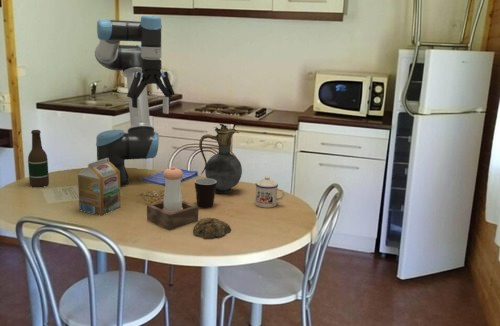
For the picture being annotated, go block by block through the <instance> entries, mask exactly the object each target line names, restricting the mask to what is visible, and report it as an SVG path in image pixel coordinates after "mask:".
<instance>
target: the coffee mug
mask: <svg viewBox="0 0 500 326" xmlns="http://www.w3.org/2000/svg"><path fill="white" fill-rule="evenodd" d="M216 183H217V181H216V180H214V179H209V178H206V177H205V178H204V177H202V178H201V177H200V178H198V179H195V180H194V189H195V196H196V198H195V199H196V200H195V201H196V206H198V208H199V209H200V208H201V209H210V208H213V207H214V203H215V196H216V192H215V190H216Z"/></svg>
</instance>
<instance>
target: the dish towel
mask: <svg viewBox="0 0 500 326" xmlns="http://www.w3.org/2000/svg"><path fill="white" fill-rule="evenodd" d="M178 169H180V170H181V171H182V172H183V176H182V178H181V183H183V182H187V181H188V180H192V179H194V178H196V177H199V172H198V171H197V170H188V169H184V168H179V167H178ZM163 172H164V170H162V171H159V172H156V173H154V174H150V175H148V176H144V177H142V178H139V181H141V182H144V183H149V184H153V185H157V186H162V187H165V178H164V177H163Z"/></svg>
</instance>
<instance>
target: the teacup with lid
mask: <svg viewBox="0 0 500 326" xmlns="http://www.w3.org/2000/svg"><path fill="white" fill-rule="evenodd" d="M278 186H279V184H278V182H277V181H276V180H273V179H271V177H270V176H269V175H267V176H265V177H264V178H262V179H259V180H257V181H255V197H254V198H255V200H254V204H255V205H256V206H257V207H260V208H266V209H267V208H269V209H270V208H273V207H276V206H277V201H282V200H283V199H284V198H285V195H286V194H285V193H286V192H285V191H284V189H283V188H280V187H279V188H278ZM278 191H280V192H281V193H282V196H280V198H277V197H278Z"/></svg>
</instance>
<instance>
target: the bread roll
mask: <svg viewBox="0 0 500 326" xmlns="http://www.w3.org/2000/svg"><path fill="white" fill-rule="evenodd" d="M231 231H232V228H231V226H230V224H229V223H227V222H225V221H223V220H221V219H218V218H215V217H204V218H201V219H200V220H198V221H197V222H196V224H195V225H194V227H193V230H192V233H193V235H194V236H196V237H201V238H203V239H204V240H214V239H221V238H224V237H226V236H227V235H228V234H230V233H231Z"/></svg>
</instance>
